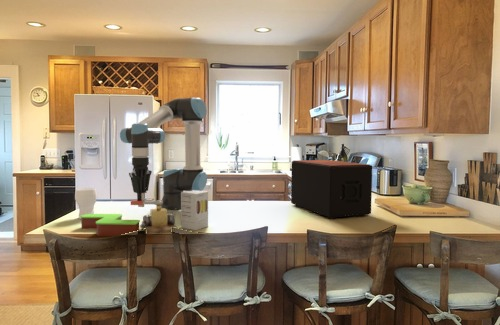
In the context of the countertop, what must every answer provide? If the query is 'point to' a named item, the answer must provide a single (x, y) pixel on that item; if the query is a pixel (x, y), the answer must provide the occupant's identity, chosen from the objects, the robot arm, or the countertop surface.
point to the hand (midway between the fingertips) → (141, 206)
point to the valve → (158, 217)
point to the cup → (86, 200)
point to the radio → (332, 187)
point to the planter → (109, 224)
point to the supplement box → (194, 209)
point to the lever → (146, 202)
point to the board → (158, 229)
